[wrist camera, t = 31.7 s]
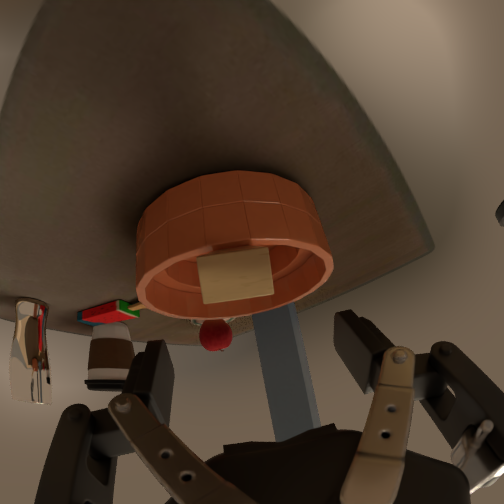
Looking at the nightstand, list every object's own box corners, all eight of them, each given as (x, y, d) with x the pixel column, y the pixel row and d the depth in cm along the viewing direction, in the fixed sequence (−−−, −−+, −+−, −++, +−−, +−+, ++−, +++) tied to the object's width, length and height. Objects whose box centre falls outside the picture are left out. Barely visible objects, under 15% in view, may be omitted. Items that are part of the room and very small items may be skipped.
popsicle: (166, 310, 38) (94, 327, 41) (165, 301, 39) (94, 318, 42) (147, 302, 34) (75, 320, 37) (146, 291, 35) (75, 311, 38)
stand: (304, 289, 44) (341, 458, 32) (257, 303, 46) (290, 467, 34) (284, 263, 34) (332, 489, 21) (225, 282, 36) (264, 496, 23)
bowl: (241, 126, 16) (260, 203, 13) (338, 222, 28) (357, 276, 25) (105, 239, 23) (101, 302, 20) (221, 279, 35) (227, 325, 32)
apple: (237, 307, 47) (244, 345, 44) (233, 320, 53) (238, 353, 50) (189, 312, 45) (194, 351, 42) (191, 324, 52) (195, 358, 49)
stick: (292, 291, 9) (286, 244, 9) (185, 306, 9) (178, 259, 9) (255, 260, 27) (252, 243, 27) (217, 265, 27) (215, 249, 27)
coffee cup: (72, 325, 43) (74, 389, 38) (102, 312, 39) (105, 388, 34) (117, 334, 52) (121, 391, 47) (151, 324, 48) (157, 389, 43)
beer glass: (20, 292, 29) (18, 400, 22) (58, 305, 35) (60, 405, 28) (8, 302, 31) (6, 397, 24) (42, 314, 37) (43, 402, 30)
